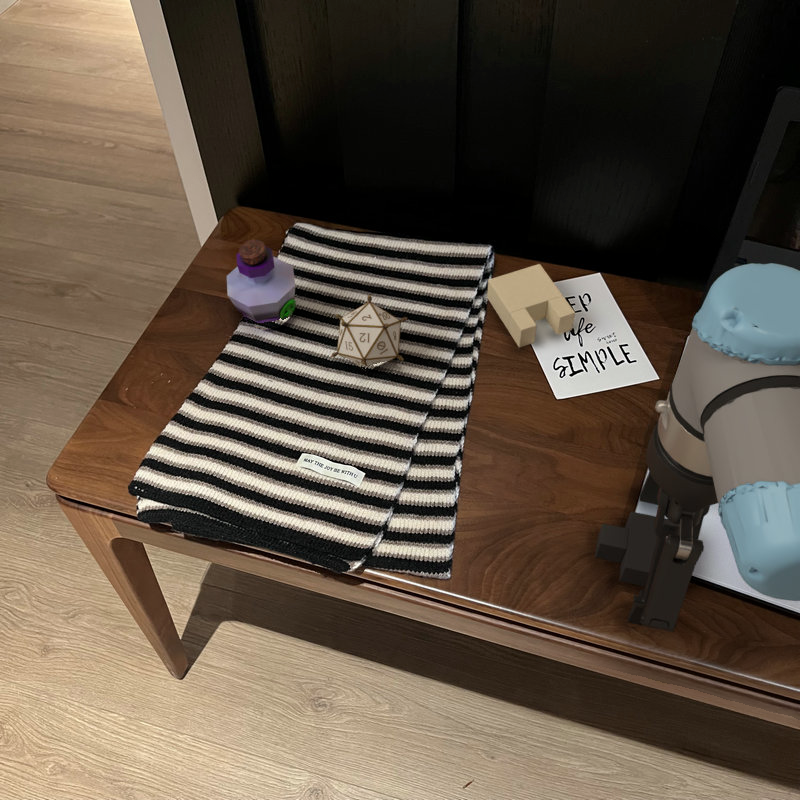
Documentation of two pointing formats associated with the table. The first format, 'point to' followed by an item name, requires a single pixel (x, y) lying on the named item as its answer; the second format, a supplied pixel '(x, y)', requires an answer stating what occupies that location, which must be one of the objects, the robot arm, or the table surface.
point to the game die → (369, 335)
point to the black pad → (630, 546)
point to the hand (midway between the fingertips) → (646, 561)
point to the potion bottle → (261, 284)
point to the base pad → (529, 303)
